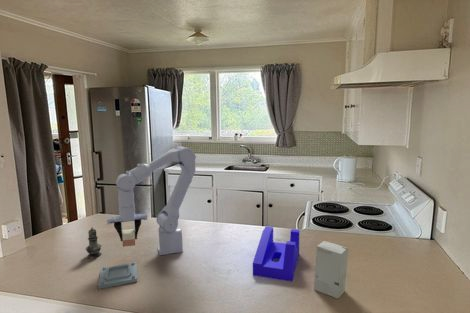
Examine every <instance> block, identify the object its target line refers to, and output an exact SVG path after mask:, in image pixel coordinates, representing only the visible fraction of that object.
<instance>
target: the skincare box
mask: <svg viewBox="0 0 470 313" xmlns="http://www.w3.org/2000/svg"><path fill="white" fill-rule="evenodd" d="M315 253H316V257H315V269H314V270H315V271H314V283H313V289H314V291H316V292H317V291H318V292H319V293H322V294H325V295H328V296H330V297H333V298H334V299H339V298H340V297H341V296H342V295H343V294H344V293H345V290H346V280H347V279H346V278H347V267H348V258H349V257H348V256H349V248H348V247H345V246H342V245H340V244H337V243H332V242H329V241H325V240H323V241H322V242H320V243H319V244H317V245H316V252H315Z"/></svg>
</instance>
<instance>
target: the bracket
mask: <svg viewBox="0 0 470 313" xmlns="http://www.w3.org/2000/svg"><path fill="white" fill-rule="evenodd" d="M289 238H290V239H289V240H288V241H286V243H285V242H276V241H274V227H273V226H264V229H263V230H262V233H261V237H260V239H259V242H258V246H257V248H256V251H255V255H254V258H253V261H252V276H254V277H261V278H268V279H274V280H280V281H287V282H293V279H294V276H295V271H296V267H297V264H298V260H299V257H300V229H294V228H292V229H290V236H289ZM276 259H277V260H278V261H275V260H276Z"/></svg>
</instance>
